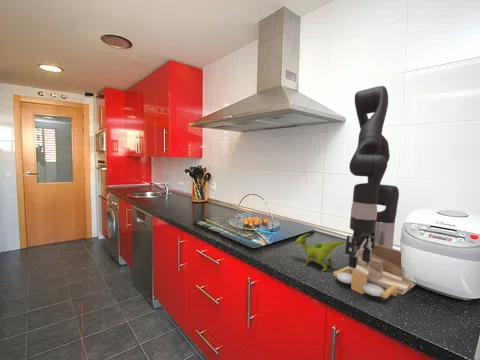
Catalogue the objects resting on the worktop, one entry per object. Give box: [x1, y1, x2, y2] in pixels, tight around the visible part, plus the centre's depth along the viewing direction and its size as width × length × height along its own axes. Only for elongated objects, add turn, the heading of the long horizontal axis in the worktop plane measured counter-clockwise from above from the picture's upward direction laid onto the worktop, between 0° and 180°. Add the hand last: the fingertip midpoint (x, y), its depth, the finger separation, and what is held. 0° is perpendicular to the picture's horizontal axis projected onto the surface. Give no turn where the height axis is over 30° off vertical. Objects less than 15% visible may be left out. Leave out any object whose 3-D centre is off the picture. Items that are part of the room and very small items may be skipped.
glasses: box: [332, 265, 398, 299], centre depth 82 cm, size 11×18×6 cm, turn 37°
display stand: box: [349, 244, 417, 295], centre depth 90 cm, size 12×19×10 cm, turn 37°
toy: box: [293, 233, 346, 272], centre depth 99 cm, size 8×21×15 cm, turn 51°
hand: (359, 264), depth 80 cm, fingers open, 8 cm apart
